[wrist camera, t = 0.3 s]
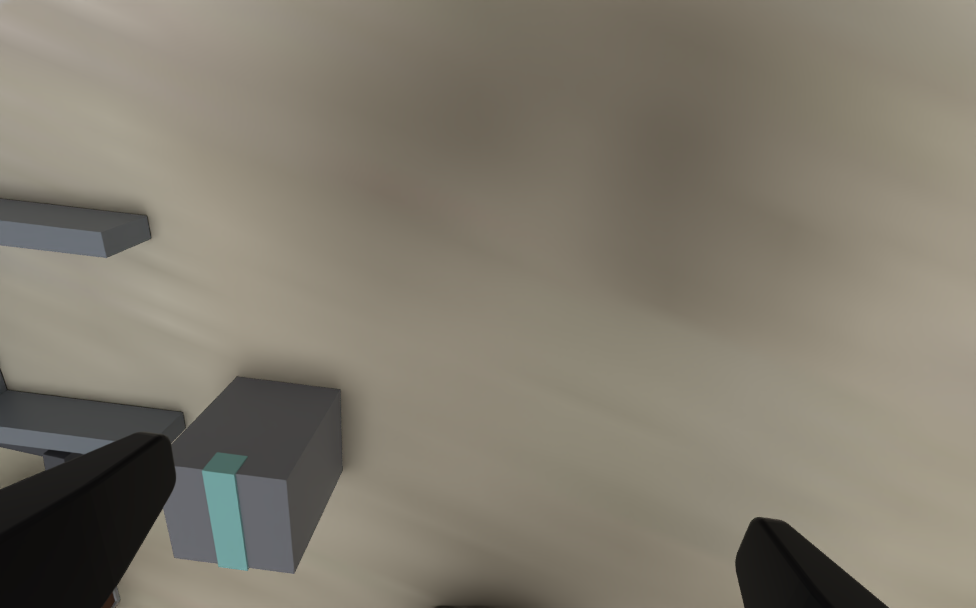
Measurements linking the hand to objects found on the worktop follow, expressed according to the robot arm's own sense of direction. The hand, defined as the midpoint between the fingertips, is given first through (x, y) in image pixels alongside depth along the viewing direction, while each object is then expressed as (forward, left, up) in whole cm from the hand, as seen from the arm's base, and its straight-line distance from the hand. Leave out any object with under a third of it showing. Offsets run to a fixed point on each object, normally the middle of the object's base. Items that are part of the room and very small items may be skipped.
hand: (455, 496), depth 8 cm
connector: (-11, +9, -14) cm, 20 cm away
